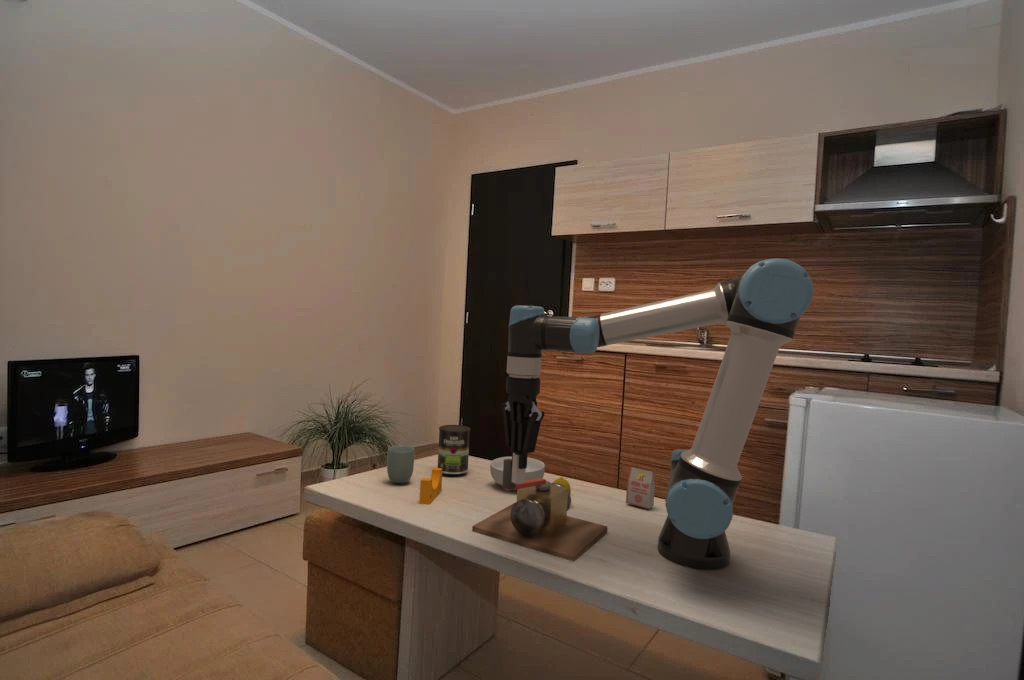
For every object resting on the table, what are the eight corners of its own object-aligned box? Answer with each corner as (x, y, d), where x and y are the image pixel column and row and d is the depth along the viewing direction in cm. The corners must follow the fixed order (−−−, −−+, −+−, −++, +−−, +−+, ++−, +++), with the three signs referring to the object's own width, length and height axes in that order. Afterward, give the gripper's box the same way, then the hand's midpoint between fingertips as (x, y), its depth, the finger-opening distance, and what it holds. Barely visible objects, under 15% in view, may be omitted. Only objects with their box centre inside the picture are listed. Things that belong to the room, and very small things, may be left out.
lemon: (567, 511, 136) (569, 481, 135) (547, 507, 137) (549, 478, 137) (571, 504, 141) (573, 476, 141) (552, 501, 143) (554, 473, 142)
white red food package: (631, 499, 147) (633, 465, 147) (653, 505, 143) (655, 470, 143) (625, 503, 144) (627, 468, 144) (648, 509, 140) (650, 473, 140)
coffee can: (468, 475, 163) (470, 431, 162) (436, 474, 162) (438, 430, 162) (468, 465, 173) (470, 425, 173) (438, 465, 172) (440, 424, 172)
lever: (544, 484, 123) (545, 453, 123) (553, 489, 120) (555, 456, 120) (498, 492, 115) (500, 459, 115) (507, 497, 112) (509, 463, 112)
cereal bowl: (500, 474, 165) (501, 453, 165) (549, 482, 160) (550, 460, 160) (480, 490, 149) (482, 466, 149) (535, 499, 144) (536, 474, 143)
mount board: (607, 532, 123) (607, 526, 123) (573, 564, 106) (573, 557, 105) (515, 507, 136) (515, 502, 136) (472, 532, 119) (472, 526, 119)
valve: (572, 520, 125) (574, 484, 125) (542, 543, 112) (544, 502, 111) (539, 511, 130) (541, 477, 130) (507, 532, 116) (509, 493, 116)
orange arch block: (427, 488, 148) (428, 467, 148) (441, 490, 148) (442, 468, 147) (413, 503, 136) (414, 479, 136) (428, 504, 136) (429, 480, 135)
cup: (418, 480, 155) (419, 448, 154) (399, 487, 148) (401, 453, 148) (399, 475, 159) (401, 444, 158) (381, 481, 152) (382, 448, 152)
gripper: (555, 378, 108) (550, 487, 109) (519, 372, 118) (514, 471, 119) (528, 379, 104) (522, 493, 104) (493, 373, 114) (488, 476, 115)
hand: (518, 481), depth 112 cm, fingers closed
